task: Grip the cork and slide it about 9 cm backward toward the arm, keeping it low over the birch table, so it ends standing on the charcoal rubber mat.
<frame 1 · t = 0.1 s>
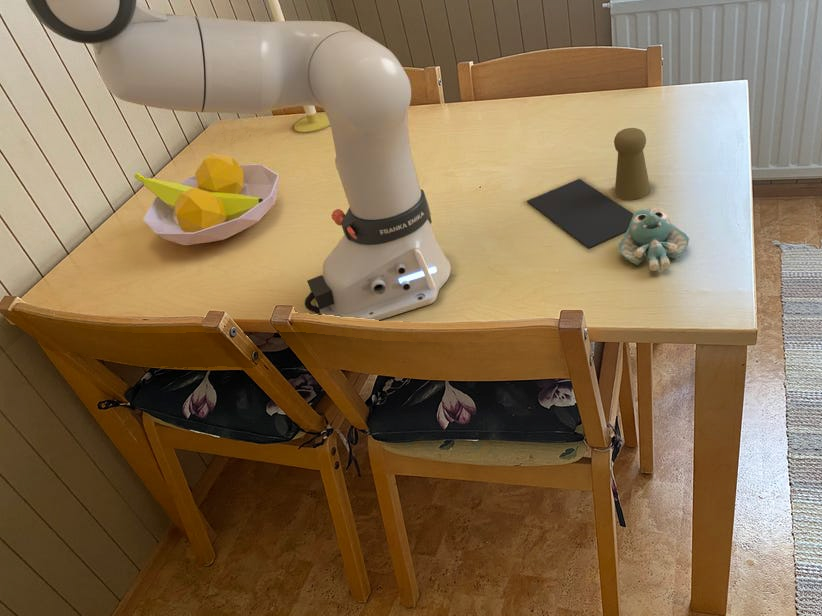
mat: (583, 212, 128), on the table
candle: (314, 124, 180), on the table
fruit bowl: (220, 222, 150), on the table
stuffed animal: (653, 254, 115), on the table
cork: (632, 192, 130), on the table
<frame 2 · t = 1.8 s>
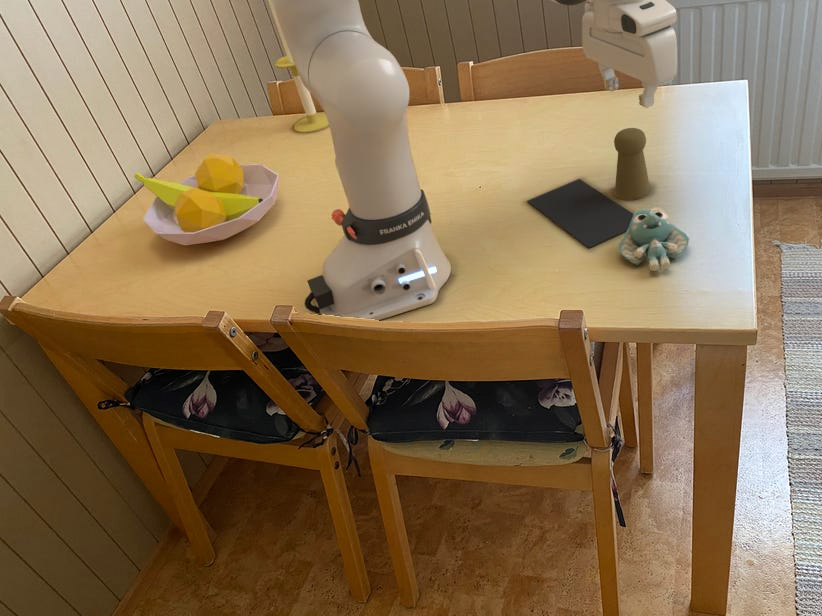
hand: (628, 97, 119), 17 cm above the table, tool pointing down, fingers open, 8 cm apart
nothing on the table moved.
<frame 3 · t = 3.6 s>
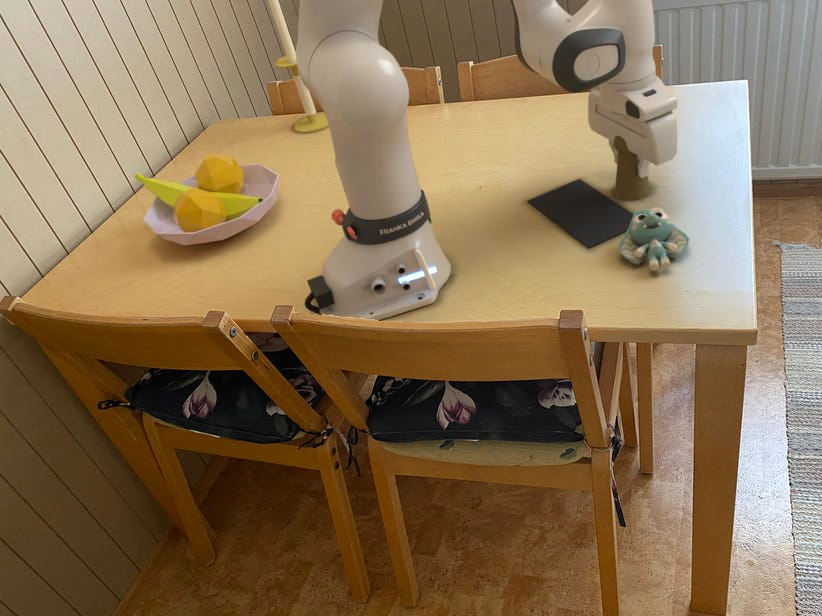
hand: (631, 169, 127), 4 cm above the table, tool pointing down, fingers closed on cork, 4 cm apart
cork: (632, 191, 130), on the table, touching gripper
everything else where it was.
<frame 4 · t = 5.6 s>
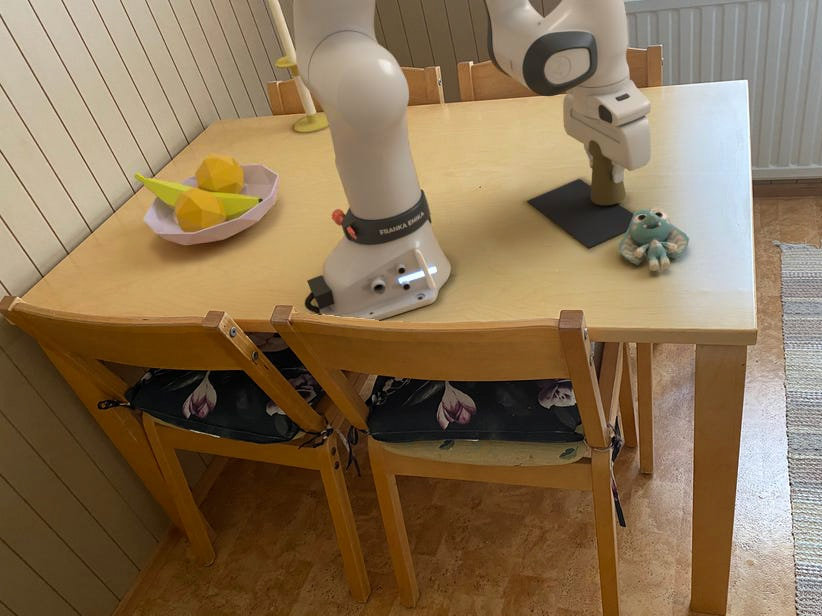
hand: (606, 174, 126), 5 cm above the table, tool pointing down, fingers closed on cork, 4 cm apart
cork: (608, 197, 129), point 1 cm above the table, touching gripper
everything else where it was.
when the fingers open (4 cm above the table, at t = 7.4 s): cork stays where it is, resting on mat.
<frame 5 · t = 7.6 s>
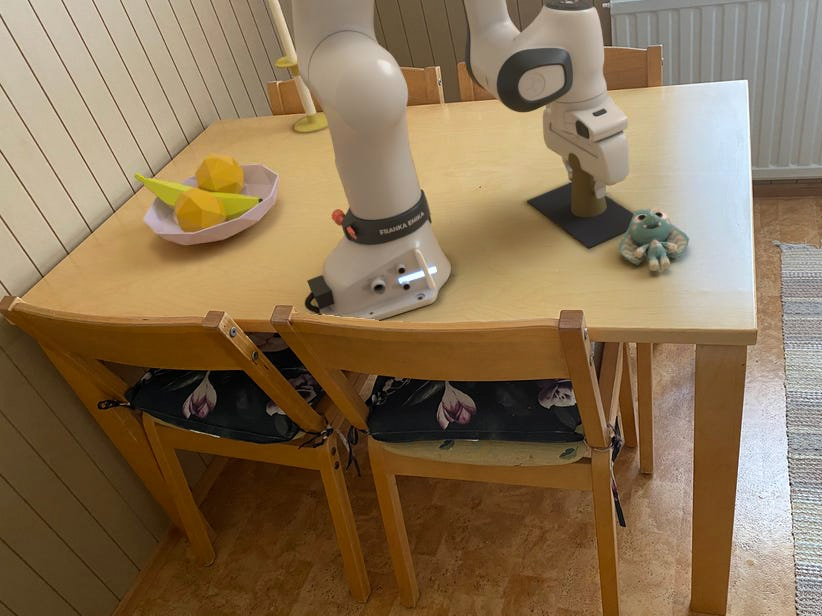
hand: (587, 188, 125), 4 cm above the table, tool pointing down, fingers open, 6 cm apart
cork: (588, 209, 128), resting on mat
everything else where it was.
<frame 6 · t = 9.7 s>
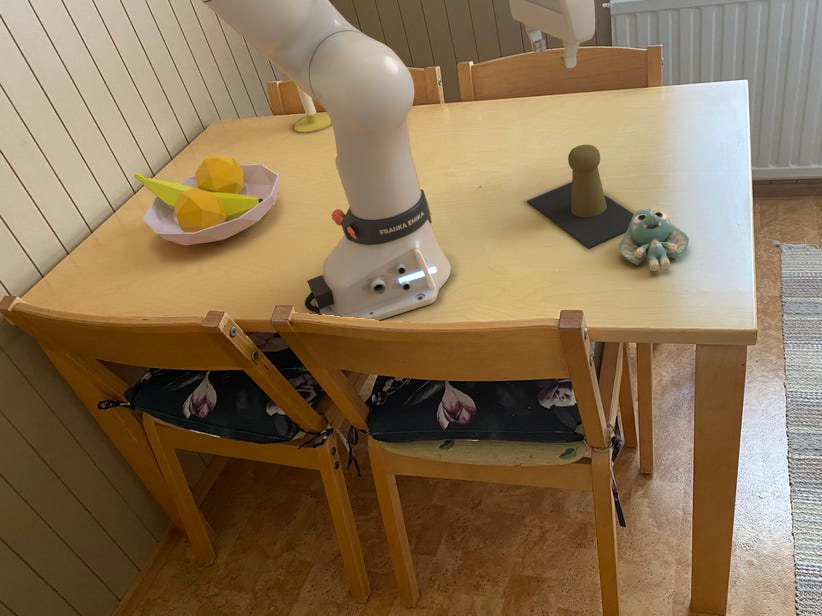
hand: (554, 59, 118), 24 cm above the table, tool pointing down, fingers open, 8 cm apart
nothing on the table moved.
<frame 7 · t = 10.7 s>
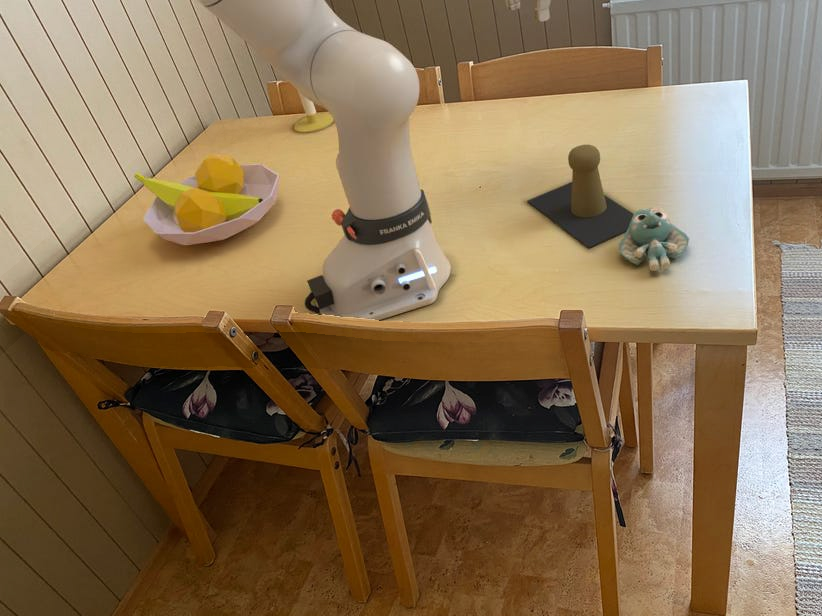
hand: (528, 14, 120), 29 cm above the table, tool pointing down, fingers open, 8 cm apart
nothing on the table moved.
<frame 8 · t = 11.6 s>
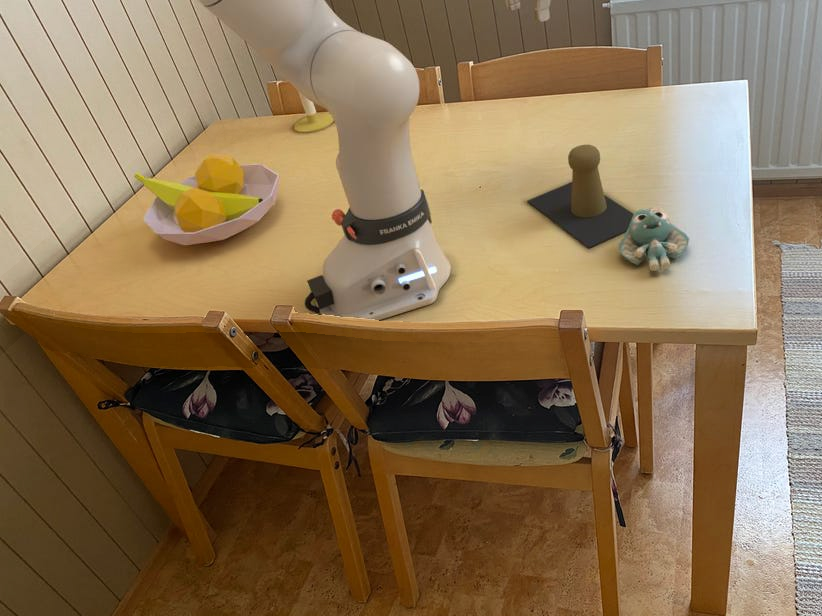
hand: (527, 14, 120), 29 cm above the table, tool pointing down, fingers open, 8 cm apart
nothing on the table moved.
at the end: cork 0.6 cm from the target spot, resting on mat; cork tilted 0°; cork touching mat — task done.
